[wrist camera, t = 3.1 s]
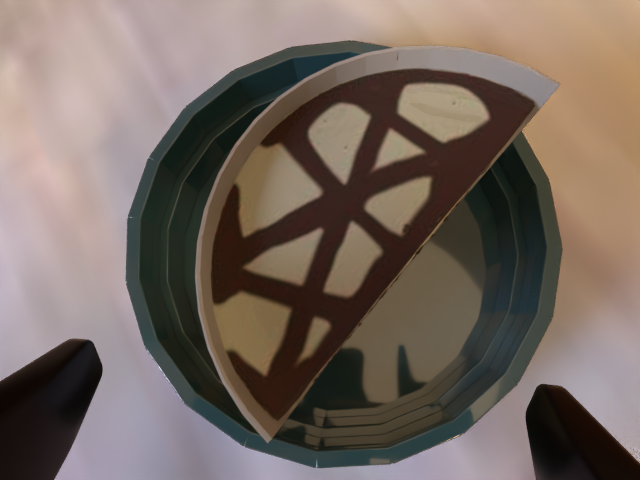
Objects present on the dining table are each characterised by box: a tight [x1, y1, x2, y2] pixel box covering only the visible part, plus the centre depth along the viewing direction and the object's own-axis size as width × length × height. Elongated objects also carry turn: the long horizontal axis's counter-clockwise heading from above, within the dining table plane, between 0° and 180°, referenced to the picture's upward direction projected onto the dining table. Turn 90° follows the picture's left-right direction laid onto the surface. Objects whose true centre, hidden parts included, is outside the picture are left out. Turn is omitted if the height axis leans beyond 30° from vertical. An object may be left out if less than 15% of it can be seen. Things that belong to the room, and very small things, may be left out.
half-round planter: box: [195, 45, 561, 443], centre depth 16 cm, size 12×6×10 cm, turn 140°
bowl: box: [126, 41, 562, 468], centre depth 19 cm, size 17×17×4 cm
